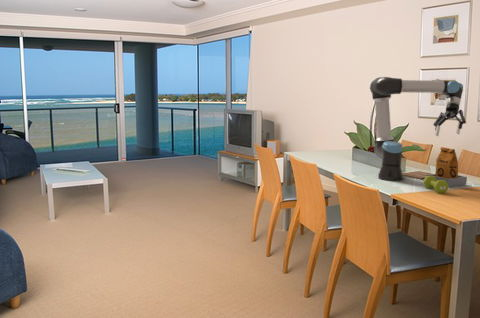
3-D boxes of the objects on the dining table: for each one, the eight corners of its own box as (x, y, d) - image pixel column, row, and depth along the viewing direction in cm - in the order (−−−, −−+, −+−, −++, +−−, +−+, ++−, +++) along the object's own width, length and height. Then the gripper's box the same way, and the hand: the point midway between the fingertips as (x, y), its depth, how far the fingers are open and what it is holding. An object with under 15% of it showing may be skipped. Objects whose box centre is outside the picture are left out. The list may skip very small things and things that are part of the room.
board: (420, 179, 280) (420, 178, 280) (398, 174, 296) (398, 173, 296) (441, 177, 289) (442, 175, 289) (419, 172, 305) (419, 171, 305)
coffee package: (445, 186, 260) (448, 149, 257) (432, 182, 272) (435, 146, 269) (460, 185, 262) (463, 149, 259) (446, 181, 274) (449, 146, 271)
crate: (447, 187, 257) (448, 179, 256) (426, 182, 270) (426, 174, 269) (466, 185, 265) (466, 176, 264) (444, 180, 278) (445, 172, 277)
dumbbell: (421, 187, 258) (422, 175, 257) (434, 187, 258) (435, 175, 257) (435, 193, 242) (436, 181, 240) (449, 193, 242) (450, 181, 241)
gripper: (475, 105, 276) (469, 135, 269) (437, 110, 296) (431, 138, 289) (469, 99, 272) (463, 129, 266) (431, 105, 292) (425, 133, 286)
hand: (446, 134), depth 277 cm, fingers open, 13 cm apart
